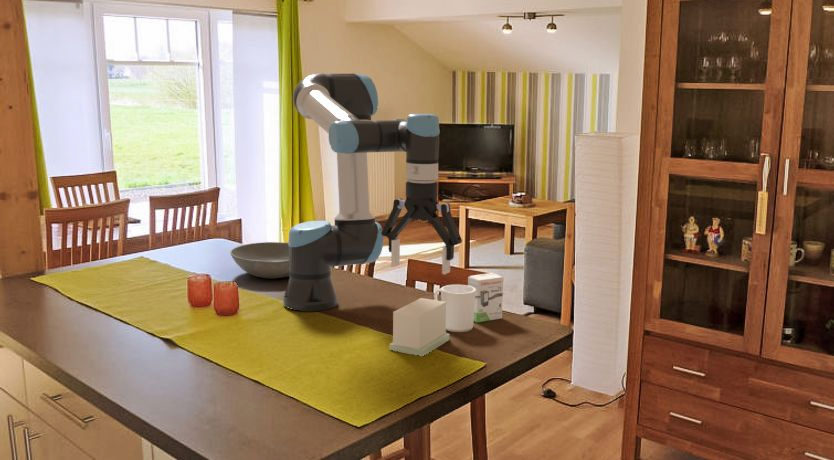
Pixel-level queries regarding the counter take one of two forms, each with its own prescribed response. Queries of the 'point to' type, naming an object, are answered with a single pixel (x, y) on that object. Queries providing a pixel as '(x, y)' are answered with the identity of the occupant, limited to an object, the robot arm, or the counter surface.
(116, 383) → the counter surface
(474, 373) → the counter surface
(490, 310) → the ink box
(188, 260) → the counter surface
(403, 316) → the white rectangular block
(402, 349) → the header block
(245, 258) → the bowl
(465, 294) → the mug
